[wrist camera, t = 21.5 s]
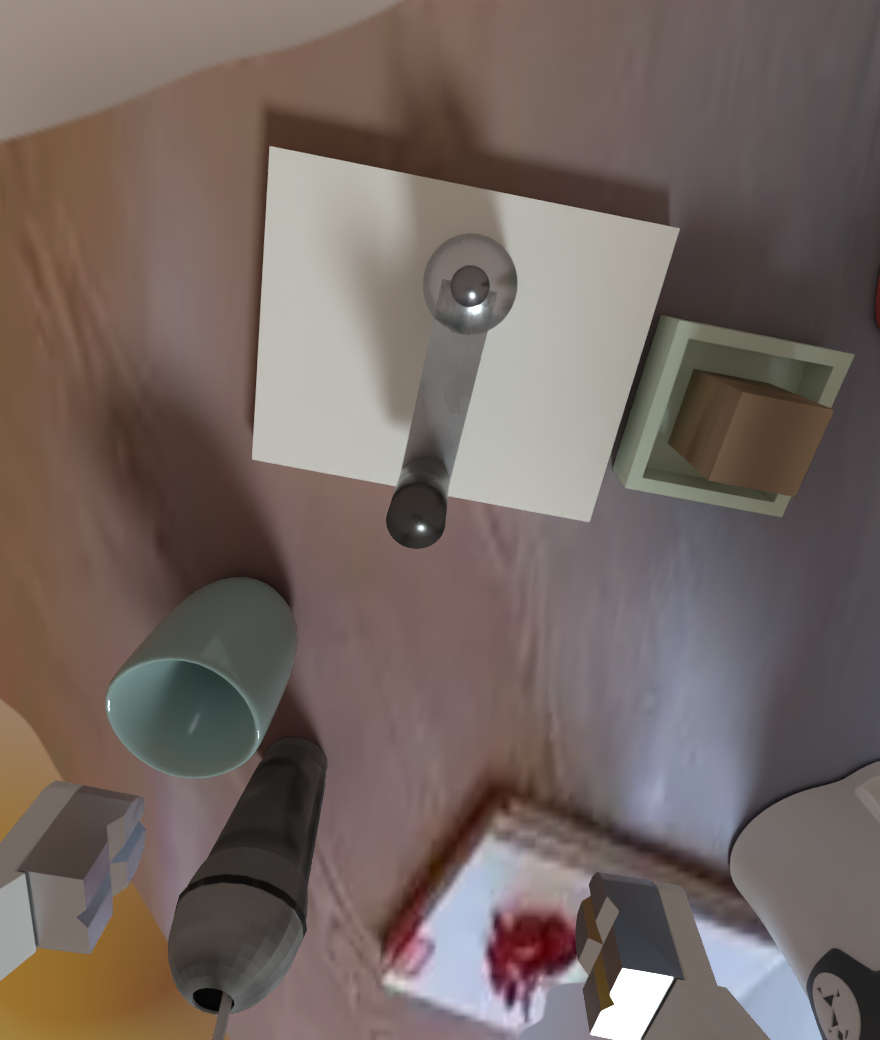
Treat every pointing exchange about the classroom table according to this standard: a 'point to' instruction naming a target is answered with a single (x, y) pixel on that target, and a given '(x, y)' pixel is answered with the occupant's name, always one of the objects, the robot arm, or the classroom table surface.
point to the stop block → (748, 432)
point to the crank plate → (408, 323)
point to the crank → (448, 377)
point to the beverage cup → (251, 888)
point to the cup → (206, 680)
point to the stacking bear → (878, 304)
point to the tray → (663, 388)
